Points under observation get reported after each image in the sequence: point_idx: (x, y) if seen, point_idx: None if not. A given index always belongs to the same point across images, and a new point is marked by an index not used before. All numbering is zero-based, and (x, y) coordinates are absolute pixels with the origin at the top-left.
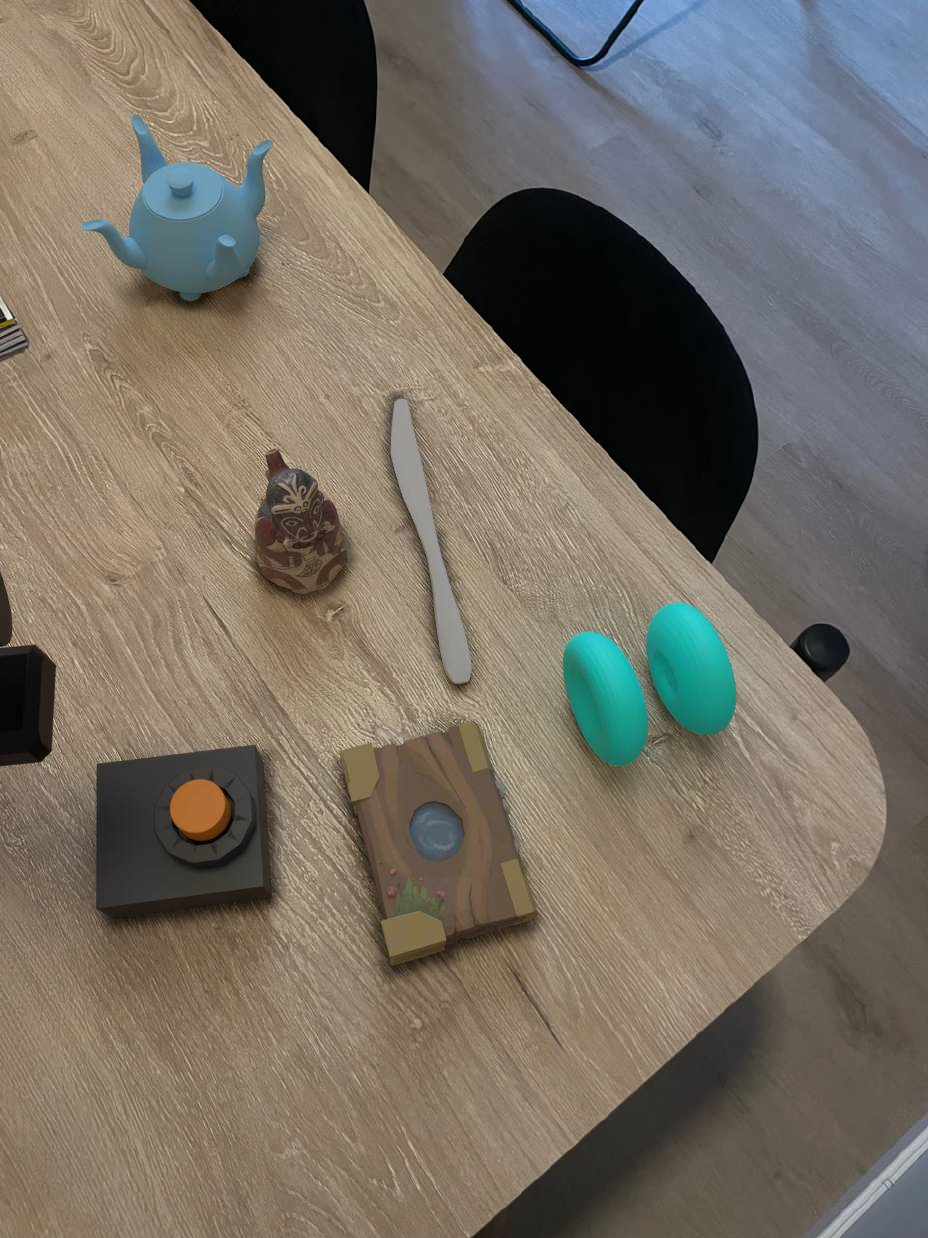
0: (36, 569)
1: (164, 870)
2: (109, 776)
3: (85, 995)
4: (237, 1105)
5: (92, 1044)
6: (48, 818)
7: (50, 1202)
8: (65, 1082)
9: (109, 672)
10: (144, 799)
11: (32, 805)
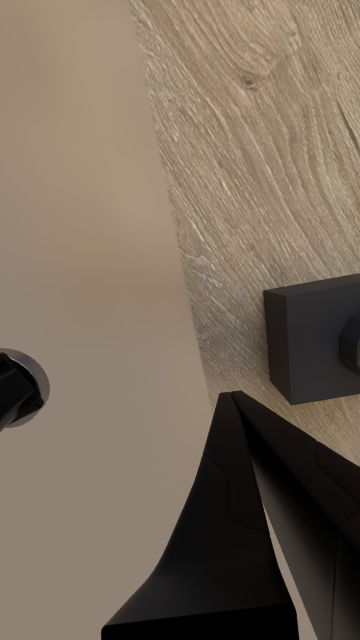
0: (169, 70)
1: (341, 377)
2: (297, 307)
3: None
4: None
5: None
6: (220, 320)
7: None
8: None
9: (253, 193)
10: (327, 325)
11: (207, 311)
